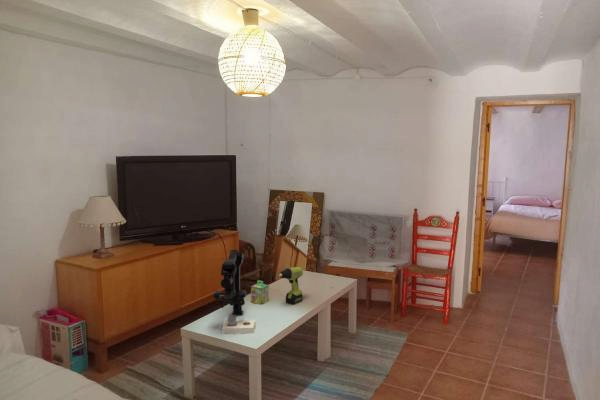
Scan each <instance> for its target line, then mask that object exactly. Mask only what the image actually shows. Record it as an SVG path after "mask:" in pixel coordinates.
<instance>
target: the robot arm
mask: <svg viewBox="0 0 600 400" xmlns="http://www.w3.org/2000/svg"><path fill="white" fill-rule="evenodd" d="M244 256H245V255H244V252H242V251H240V250H239V249H230V251H229V255H228V257H227V259H226V260H224V261H223V263H222V264H221V269H220V270H221V271H220V275H221V276H223V278H222V280H221V282H220V285H221V287H222V288H223V289H224V290H223V292H222V290H215V291H214V292H213V299H216V300H217V301H218V302H219V303H220V306H221V308H222V309H224V301H223V300H229V306H232V313H231V315H236V316H242V315H243V313H244V310H243V306H244V305H245V304H246V303H245V302H246V301H245V298H246V297H247V291H246V290H245V289H241V266H242V264H243V262H244Z"/></svg>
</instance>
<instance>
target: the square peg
mask: <svg viewBox="0 0 600 400" xmlns="http://www.w3.org/2000/svg"><path fill="white" fill-rule="evenodd" d="M236 317H237V315H232V314H229V315H228V317H227V320H228V326H236V320H237V318H236Z"/></svg>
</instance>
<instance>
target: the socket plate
mask: <svg viewBox="0 0 600 400" xmlns="http://www.w3.org/2000/svg"><path fill="white" fill-rule="evenodd" d="M255 329H256V319H236V326H228V319H227V320H226V319H225V320H224V322H223V326H222V328H221V332H222V334H254V332H255Z"/></svg>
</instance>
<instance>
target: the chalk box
mask: <svg viewBox="0 0 600 400" xmlns="http://www.w3.org/2000/svg"><path fill="white" fill-rule="evenodd" d="M269 288H270V287H269V284H265V283H264V281H263V280H260V279H259V280H257V281H256V284H253V285H251V286H250V302H251V303H253V304H258V305H261V304H262V305H264V304H265V303H267V302H269V298H270V297H269V292H270V291H269Z"/></svg>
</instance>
